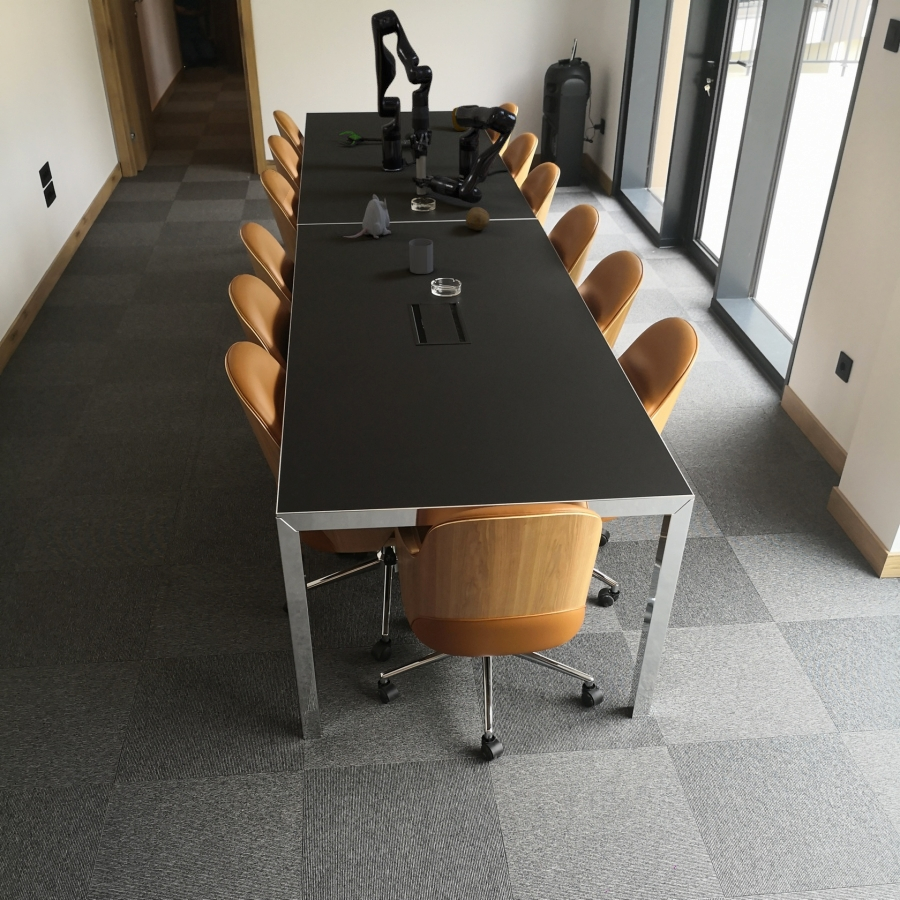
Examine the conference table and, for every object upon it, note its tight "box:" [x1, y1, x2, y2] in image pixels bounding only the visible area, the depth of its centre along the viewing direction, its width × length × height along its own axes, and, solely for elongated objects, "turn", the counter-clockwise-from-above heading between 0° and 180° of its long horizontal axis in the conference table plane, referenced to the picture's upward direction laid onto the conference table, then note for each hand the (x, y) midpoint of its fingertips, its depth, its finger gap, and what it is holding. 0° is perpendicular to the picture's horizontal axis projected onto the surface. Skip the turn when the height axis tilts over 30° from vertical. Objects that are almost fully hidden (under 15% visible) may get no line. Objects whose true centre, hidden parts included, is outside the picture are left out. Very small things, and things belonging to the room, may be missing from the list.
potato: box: [465, 206, 491, 231], centre depth 344 cm, size 10×14×8 cm
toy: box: [343, 193, 392, 239], centre depth 332 cm, size 9×24×15 cm, turn 137°
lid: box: [419, 147, 428, 156], centre depth 378 cm, size 5×5×2 cm
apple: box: [451, 106, 469, 132], centre depth 487 cm, size 11×11×13 cm
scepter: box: [337, 130, 382, 148], centre depth 462 cm, size 6×13×30 cm
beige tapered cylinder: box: [415, 155, 427, 196], centre depth 383 cm, size 4×4×18 cm
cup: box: [408, 237, 434, 275], centre depth 305 cm, size 8×8×10 cm
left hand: (421, 157), depth 379 cm, fingers closed on lid, 5 cm apart
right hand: (417, 178), depth 386 cm, fingers closed on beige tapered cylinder, 4 cm apart
